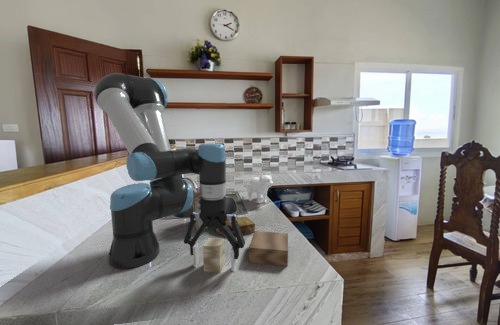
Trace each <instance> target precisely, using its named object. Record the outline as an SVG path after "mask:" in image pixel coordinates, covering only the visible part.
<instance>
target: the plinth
mask: <svg viewBox="0 0 500 325" xmlns="http://www.w3.org/2000/svg"><path fill="white" fill-rule="evenodd" d="M252 234H253V235H252V237H251V240H250V243H249V247H248V262H249V263H252V264H254V263H255V264H263V265H271V266H272V265H275V266H282V267H283V266H284V267H288V263H289V262H288V261H289V234H288V233H287V232H276V231H275V232H271V231H258V230H255V231H254V232H253V233H252Z"/></svg>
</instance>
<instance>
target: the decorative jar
mask: <svg viewBox="0 0 500 325" xmlns="http://www.w3.org/2000/svg"><path fill="white" fill-rule="evenodd" d="M200 199H201V196H200V186H199V187H196V188H193V201H192V205H193V206H192V209H193V212H194V211H196V212H197V213H200V212H201V210H200ZM193 212H192V213H193ZM202 224H203V222H202V220H201V219H200V217H199V218H198V219H197V221H196V224H195V229H196V231H198V230H199V228H200V227H201V225H202ZM210 229H211V228H208V227H206V228H205V229H204V230H210Z"/></svg>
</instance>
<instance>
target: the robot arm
mask: <svg viewBox="0 0 500 325" xmlns="http://www.w3.org/2000/svg"><path fill="white" fill-rule="evenodd" d="M94 100H95V101H96V104H97V105H98V107H99V109H101V110H102V111H103V112H105V113H106V115H107V116H108V118H109V121H111V123H112V125H113V127H114V128H115V131H116V132H117V134H118V137H119V138H120V140H121V141H122V143H123V145H124V147H125V149H126V150H127V152H128V153H129V155H128V156H127V158H126V170H127V174H128V177H129V178H130V179H131V180H133V181H135V182H139V183H131V184H128V185H127V184H126V185H124V186H121V187H118V188H117V189H115V190H114V191H113V192H112V193H111V195H110V196H109V197H110V200H109V202H110V204H109V205H110V206H109V209H110V214H111V226H112V236H113V237H112V241H111V244H110V245H111V246H110V248H109V252H108V255H107V256H108V263H109V265H110V266H111V267H113V268H116V269H131V268H133V269H134V268H136V267H140V266H143V265H146V264H148V263H150V262H152V261H153V260H155V259H156V258H157V257H158V256H159V254H160V252H161V248H160V247H161V245H160V244H159V240H158V239H157V236H156V233H155V232H154V228H153V226H154V225H153V224H154V223H153V222H154V221H157V220H160V219H164V218H167V217H170V216H173V215H179V214H181V213H182V212H185V211H187V210H189V209H190V208H191V206H192V205H193V190H194V188H193V187H192V184H191V183H190V182H189V181H188V180H186V179H184V177H183V175H188V174H194V175H195V174H196V175H199V176H198V177H199V187H200V196H201V199H200V210H201V212H200V213H197V212H196V211H194V212H191V214H190V215H189V224H188V226H187V230H186V234H185V237H184V238H183V239H184V240H183V244H185V245H189V246H190V247H189V249H190V250H189V251H190V256H193V257H192V260H193V261H192V262H193V267H194V268H197V266H198V265H199V263H200V247H199V246H200V245H199V242H197V241H198V239H199V238H200V237H201V235H202V234H203V232H204V231H205V230H206V229H205V228H206V227H208V228H210V229H215V230H216V229H218V228H219V229H220V230H221V231H222V232H223V233H224V234H223V235H224V236H225V238H226V239H227V241H228V242H229V244H230V246H231V249H230V256H231V257H230V258H231V259H230V263H231V264H230V267H231V268H230V269H231V271H232V272H234V271H235V269H236V266H237V260H238V259H239V257H240V256H239V255H240V249H243V248H244V247H245V245H246V240H245V239H244V234H242V232H241V230H240V227H239V224H238V222H237V218H238V213H233V214H228V212H227V197H226V196H227V183H226V182H227V181H226V180H227V178H226V177H227V175H226V167H227V165H226V164H227V163H226V162H227V160H226V159H227V157H226V149H225V148H226V147H225V145H224V144H222V143H210V142H209V143H201V144H198V149H196V148H195V149H194V148H191V147H189V148H188V147H186V148H180V149H173V150H172V148H171V144H170V141H169V136H168V134H167V129H166V125H165V122H164V117H163V113H164V111H165V109H166V107H167V105H168V93H167V89H166V87H165V85H164V84H163V82H161V81H160V80H159V79H155V78H152V77H142V76H137V75H133V74H132V75H131V74H127V73H126V74H125V73H121V72H113V73H108V74H107V75H105V76H102V78H100V79H99V80H98V82H97V83H96V85H95V87H94ZM143 181H149V183H147V182H143ZM199 217H200V219H201V220H202V222H203V224H202V225H201V227H200V228H199V230H196V233H195V234H194V236H193V233H194V230H195V228H196V226H195V224H196V221H197V219H198V218H199ZM226 219H229V221H230V222H231V224H232V228H233V230H234V233H235V235H234V234H233V233H232V232H231V230H230V229H229V227H228V225H227V223H226V222H225V221H226ZM192 236H193V238H192Z"/></svg>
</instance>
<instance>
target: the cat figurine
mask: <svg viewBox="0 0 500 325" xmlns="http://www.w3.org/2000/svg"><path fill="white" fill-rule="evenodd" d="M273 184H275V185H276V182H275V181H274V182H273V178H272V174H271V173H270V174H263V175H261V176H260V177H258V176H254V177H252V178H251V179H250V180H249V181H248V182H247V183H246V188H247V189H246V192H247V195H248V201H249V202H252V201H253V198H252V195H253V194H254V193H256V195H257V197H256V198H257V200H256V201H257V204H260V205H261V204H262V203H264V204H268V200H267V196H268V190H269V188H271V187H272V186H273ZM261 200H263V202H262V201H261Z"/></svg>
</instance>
